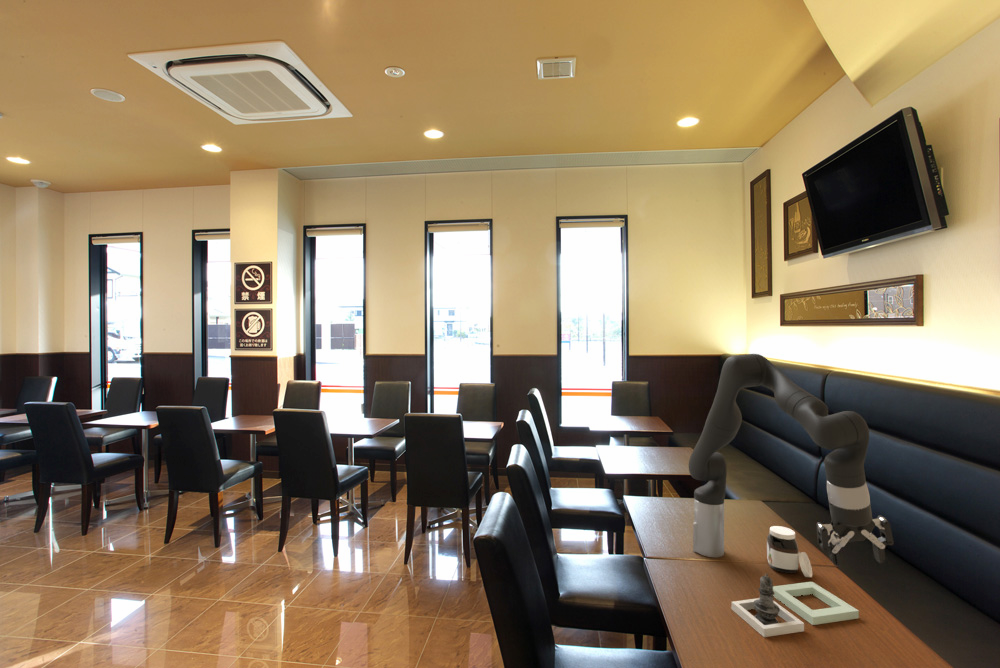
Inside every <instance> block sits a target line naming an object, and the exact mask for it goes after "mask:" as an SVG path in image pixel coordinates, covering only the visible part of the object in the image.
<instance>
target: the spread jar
mask: <svg viewBox="0 0 1000 668" xmlns="http://www.w3.org/2000/svg"><path fill="white" fill-rule="evenodd" d="M766 537H767V538H766V557H767V563H768V566H769V567H770V568H771V569H773V570H774V569H775V570H774V571H776V572H779V571H780V572H779V573H783V572H785V573H784V574H793V573H796V572H798V570H799V566H800V570H801V572H802V574H803V576H804V577H805V578H813V569H812V563H811V561H810V559H809V558H810V557H809V556H808V554H807V553H806V552H805V551H799V545H798V543H797V540H796V532H795V530H792V529H791V528H789V527H785V526H782V525H781V526H780V525H772V526H770V527H769V533H768V534H767V536H766Z"/></svg>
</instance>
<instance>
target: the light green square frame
mask: <svg viewBox="0 0 1000 668" xmlns="http://www.w3.org/2000/svg"><path fill="white" fill-rule="evenodd" d="M773 591H774V593H775V594H774V595H773V596H774V597H773V598H775V599H776V600H777V601H779V602H780V601H781V602H780V603H781V604H783V605H784V604H785V605H784V606H786V607H787V608H788V609H790V610H791V611H793V612H794V613H795V614H797V615H798V616H799V617H800V618H802V619H803V620H805V621H806V622H807V623H809V624H811V625H812V626H816V625H822V624H829V623H836V622H842V621H850V620H855V619H856V620H857V619H859V618H860V614H859V612H860V610H859V609H857V608H855V607H854V606H852V605H850V603H847V601H846V602H845V601H844V600H843V599H841V598H839V597H838V596H836V595H835V594H833V593H832V592H830V591H828V590H826V589H825V588H823V587H821V586H820V585H819V584H817V583H816V582H813V581H805V582H797V583H791V584H783V585H782V584H781V585H773ZM810 594H811V595H812V594H813V597H816V598H817V599H819V600H820V601H822V602H823V603H825V604H827V606H829V607H825V608H819V609H811V607H809V606H807V605H806V604H805V603H803V602H801V601H800V600H799V599H797V598H796V597H801V595H803V596H809V595H810ZM793 596H795V597H793Z"/></svg>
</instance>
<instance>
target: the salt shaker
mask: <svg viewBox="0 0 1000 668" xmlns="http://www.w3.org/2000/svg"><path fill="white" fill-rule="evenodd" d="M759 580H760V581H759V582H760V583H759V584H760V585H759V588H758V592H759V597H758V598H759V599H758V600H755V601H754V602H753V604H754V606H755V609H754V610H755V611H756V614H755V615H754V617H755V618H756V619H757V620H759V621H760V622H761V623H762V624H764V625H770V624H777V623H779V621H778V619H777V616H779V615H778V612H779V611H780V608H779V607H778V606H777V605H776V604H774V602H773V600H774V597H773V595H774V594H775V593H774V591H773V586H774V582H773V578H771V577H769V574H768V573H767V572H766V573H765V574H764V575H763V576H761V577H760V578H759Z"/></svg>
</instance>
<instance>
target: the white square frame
mask: <svg viewBox="0 0 1000 668" xmlns="http://www.w3.org/2000/svg"><path fill="white" fill-rule="evenodd" d="M759 598H760V597H757V598H750V599H743V600H735V601H734V600H733V601H731V606H730V607H731V610H732V612H734V613H735V614H736V615H738V617H740V618H741V619H742V620H743V621H745V622H746V623H747V624H748V625H749V626H750V627H751V628H753V629H754V630H755V631H756V632H757V633H759V635H761V636H762V637H763V638H768V637H773V636H774V637H775V636H781V635H787V634H793V633H794V634H795V633H802V632H805V623H804V622H803V621H802V620H801V619H799V618H798V617H797V616H795V615H794V614H793V613H791V612H789V611H788V610H787V609H786V608H784V607H783V606H781V605H780V604H779V603H778V602H776V601H775V600H774V599H773V602H774V604H776V605H777V606H778V607H779V608H780V611H779V612H778V615H777V616H778V617H780V618H781V619H783V620H784V621H785V622H778V623H777V624H770V625H764V624H762V623H761V622H760V621H759V620H757V619H756V618H755V615H753V614H752V613H751V612H749V611H750V610H751V609H753V610H756V609H755V606H754V604H753V602H754V601H755V600H758V599H759Z"/></svg>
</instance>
